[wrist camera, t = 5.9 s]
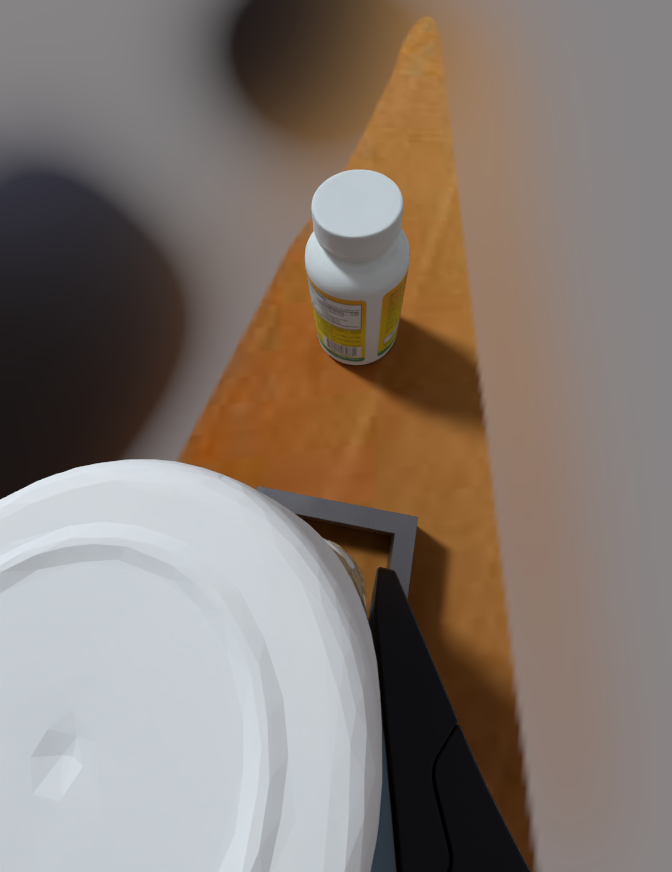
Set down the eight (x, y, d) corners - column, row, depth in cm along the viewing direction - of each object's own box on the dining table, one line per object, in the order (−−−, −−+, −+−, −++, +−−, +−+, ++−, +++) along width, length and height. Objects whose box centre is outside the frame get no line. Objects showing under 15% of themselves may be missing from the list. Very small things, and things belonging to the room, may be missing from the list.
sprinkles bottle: (331, 518, 16) (216, 358, 3) (387, 617, 15) (551, 965, 2) (239, 574, 16) (-291, 629, 3) (289, 682, 14) (-326, 1698, 2)
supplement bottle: (331, 377, 24) (313, 265, 15) (309, 313, 26) (280, 177, 16) (409, 353, 24) (438, 228, 15) (381, 291, 26) (392, 144, 17)
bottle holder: (388, 693, 18) (393, 713, 16) (228, 652, 19) (209, 665, 17) (411, 521, 20) (417, 517, 18) (269, 494, 22) (257, 486, 19)
